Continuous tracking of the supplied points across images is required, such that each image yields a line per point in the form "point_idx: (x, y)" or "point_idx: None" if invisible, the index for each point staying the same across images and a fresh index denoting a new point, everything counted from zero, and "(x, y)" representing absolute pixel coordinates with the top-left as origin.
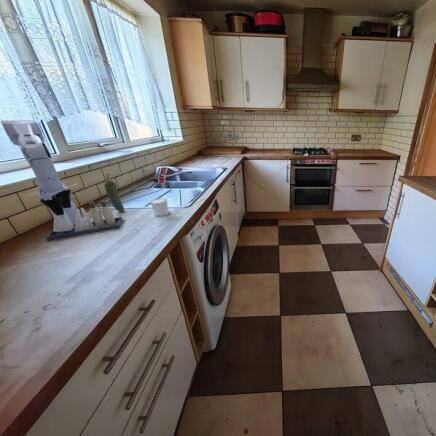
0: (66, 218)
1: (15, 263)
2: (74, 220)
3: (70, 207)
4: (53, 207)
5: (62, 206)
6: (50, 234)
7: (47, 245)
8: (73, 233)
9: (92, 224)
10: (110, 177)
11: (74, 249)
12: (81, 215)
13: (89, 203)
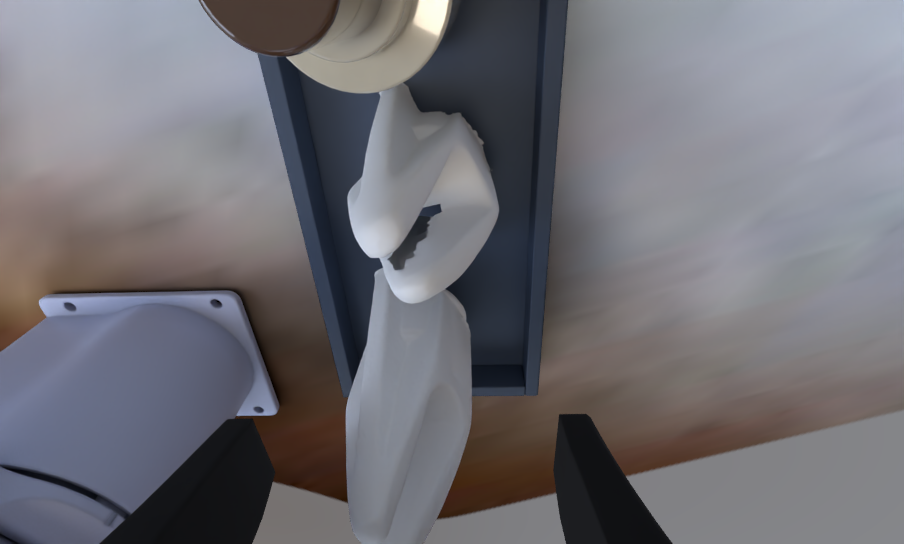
0: (399, 365)
1: (784, 412)
2: (188, 320)
3: (250, 420)
4: None
5: (110, 496)
6: (487, 384)
7: (604, 348)
8: (547, 232)
9: (400, 95)
10: None
11: (863, 130)
12: (43, 307)
13: (322, 39)
